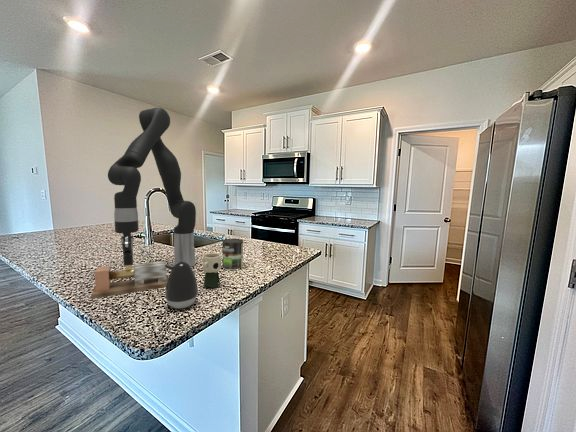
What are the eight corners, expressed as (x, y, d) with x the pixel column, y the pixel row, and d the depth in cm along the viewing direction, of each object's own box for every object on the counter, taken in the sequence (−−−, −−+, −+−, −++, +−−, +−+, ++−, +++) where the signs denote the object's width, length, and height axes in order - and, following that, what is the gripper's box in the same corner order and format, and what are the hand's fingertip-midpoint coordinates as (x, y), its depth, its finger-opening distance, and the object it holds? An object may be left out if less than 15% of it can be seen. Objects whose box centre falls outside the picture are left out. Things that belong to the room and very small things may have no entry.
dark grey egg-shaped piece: (171, 298, 89) (171, 257, 87) (201, 298, 89) (201, 257, 88) (159, 312, 78) (158, 266, 77) (193, 312, 79) (192, 266, 78)
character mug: (212, 292, 95) (212, 259, 93) (196, 290, 96) (195, 257, 95) (226, 282, 105) (226, 252, 104) (211, 280, 107) (211, 251, 106)
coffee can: (235, 272, 118) (235, 243, 116) (217, 269, 122) (217, 241, 120) (246, 266, 127) (247, 239, 126) (230, 263, 131) (230, 237, 130)
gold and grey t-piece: (149, 273, 101) (148, 246, 99) (149, 275, 98) (148, 248, 97) (110, 278, 94) (109, 250, 93) (109, 280, 91) (108, 252, 90)
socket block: (111, 284, 96) (110, 265, 95) (109, 290, 90) (108, 270, 90) (98, 286, 93) (97, 267, 93) (95, 292, 88) (94, 272, 88)
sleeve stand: (167, 278, 108) (167, 259, 107) (169, 286, 99) (169, 265, 98) (95, 288, 95) (94, 267, 94) (91, 298, 86) (90, 275, 85)
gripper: (137, 221, 89) (139, 267, 91) (138, 217, 101) (139, 258, 103) (112, 222, 85) (115, 270, 87) (116, 217, 97) (118, 260, 99)
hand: (128, 263), depth 95 cm, fingers closed on gold and grey t-piece, 2 cm apart
